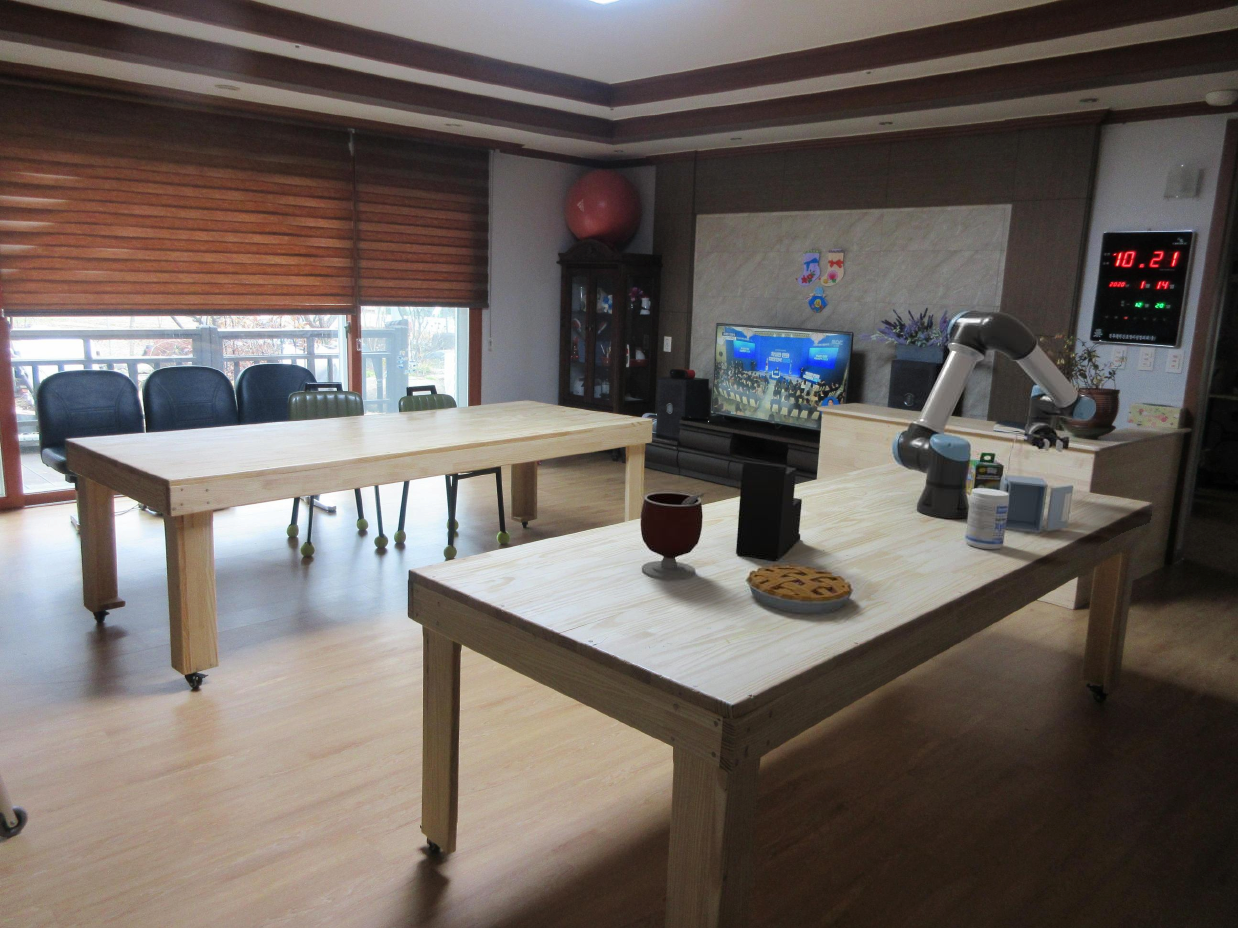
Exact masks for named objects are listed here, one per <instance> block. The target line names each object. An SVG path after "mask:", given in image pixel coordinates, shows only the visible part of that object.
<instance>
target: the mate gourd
mask: <svg viewBox="0 0 1238 928" xmlns="http://www.w3.org/2000/svg"><path fill="white" fill-rule="evenodd" d="M704 495H705V494H704V493H702V492H701V493H700V492H699V493H697V494H690V493H689V494H688V493H684V492H683V493H682V492H681V493H680V492H670V491H668V492H667V491H661V492H651V493H648V494H646V495H644V500H643V503H642V507H641V512H640V532H641V537H642V541H643V542H644V544H645V545H646V547H647V549H648V550H649V551H651V552H653V553H655V554H657V555H660V556H662V557H663V558H662V560H656V561H649V562H646V563H644V564H643V565H642V566H641V573H642V574H643V575H644V576H647V577H649V578H653V579H657V580H660V581H661V580H663V581H685V580H689V579H692V578H694V577H695V576H696V568H695V567H694V566H692V565H691V564H688V563H684V562H679V561H677V559H676V558H677V557H680V556H683V555H687V554H689V553H691V552H692V551H693V549H695V547H696V546H697V545H698V544H699V541H700V538H701V535H702V534H701V533H702V529H703V517H704V516H703V506H702V499H701V498H702V497H704Z"/></svg>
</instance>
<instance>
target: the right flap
mask: <svg viewBox="0 0 1238 928" xmlns="http://www.w3.org/2000/svg"><path fill="white" fill-rule="evenodd" d="M1073 491H1074V485H1072V484H1068V485H1060V486H1053V487H1051V488H1050V494H1049V495H1050V496H1049V503H1048V511H1047V515H1046V524H1045V531H1047V532H1050V531H1054V530H1055V531H1056V530H1060V529H1066V528H1068V526H1069V525H1068V524H1069V519H1070V513H1071V505H1072V500H1073V499H1072V498H1073Z"/></svg>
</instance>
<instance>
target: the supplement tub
mask: <svg viewBox="0 0 1238 928" xmlns="http://www.w3.org/2000/svg"><path fill="white" fill-rule="evenodd" d="M969 497H970V498H969V502H968V503H969V512H968V517H967V522H966V528H965V529H966V530H965V538H964V541H965V543H966V544H967V545H969V546H970V547H972V548H973V547H974V548H978V549H983V550H999V549H1001V548H1003V546H1004V540H1005V533H1006V529H1005V527H1006V519H1007V512H1008V504H1009V494H1008V493H1007V492H1004V491H1000V490H995V489H986V488H975V489H972V492H971V495H970V496H969Z"/></svg>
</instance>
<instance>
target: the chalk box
mask: <svg viewBox="0 0 1238 928" xmlns="http://www.w3.org/2000/svg"><path fill="white" fill-rule="evenodd" d="M985 457H990V458H988V459H985ZM995 458H996V453H994V452H981V453H980V458H979V459H970V464H969V471H968V478H967V485H966V494H968V495H970V496H971V492H972V489H975V488H986V489H995V490H1000V482H1001V477H1004V469H1005V468H1004V467H1005V466H1004V464H1002V463H1001V462H998V461H997V460H995Z"/></svg>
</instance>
